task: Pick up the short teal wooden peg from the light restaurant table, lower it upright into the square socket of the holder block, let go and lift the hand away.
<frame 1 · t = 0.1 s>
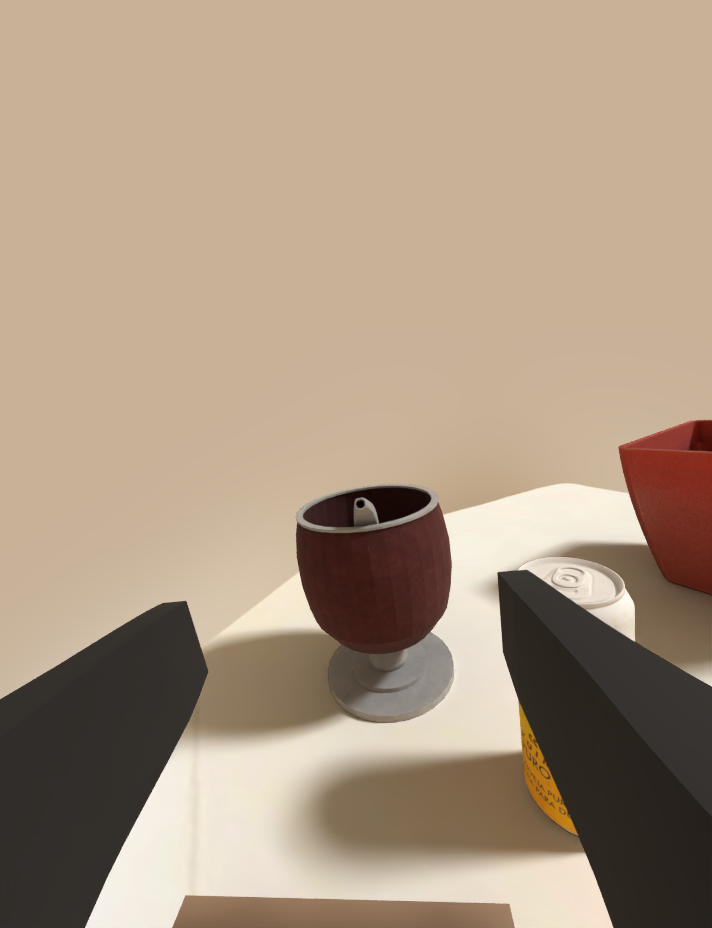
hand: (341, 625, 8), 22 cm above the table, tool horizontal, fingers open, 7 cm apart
mate gourd: (391, 676, 36), on the table
beer can: (577, 796, 24), on the table
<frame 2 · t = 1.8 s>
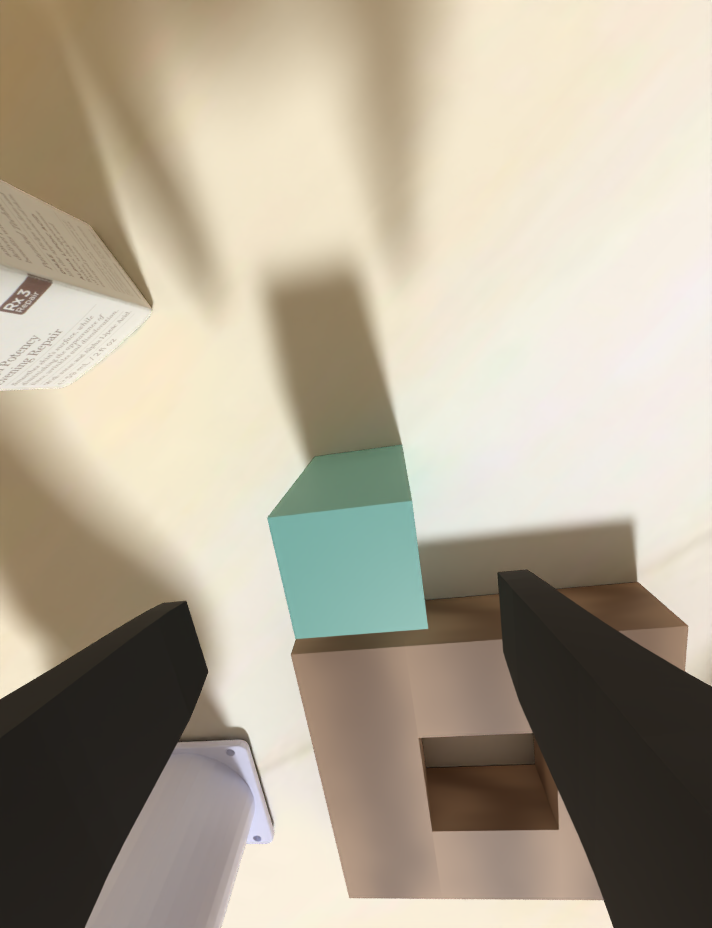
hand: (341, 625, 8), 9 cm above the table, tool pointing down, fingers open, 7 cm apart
skincare box: (82, 307, 16), on the table
holder block: (475, 724, 20), on the table
teal peg: (364, 492, 17), on the table
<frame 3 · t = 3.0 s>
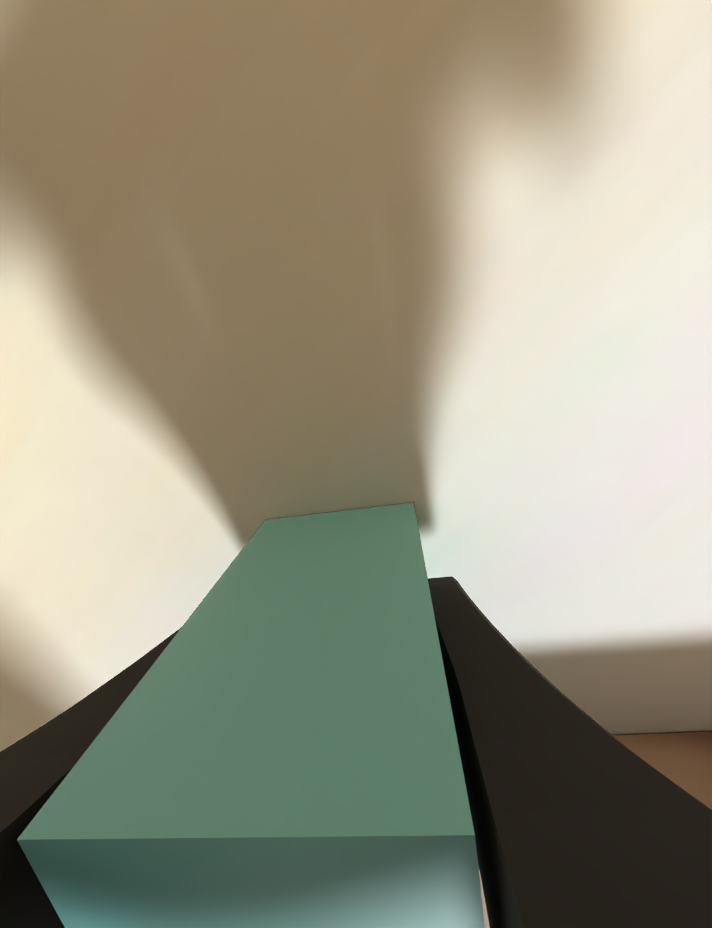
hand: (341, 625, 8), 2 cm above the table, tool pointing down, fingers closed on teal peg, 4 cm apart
holder block: (522, 911, 13), on the table
teal peg: (349, 577, 10), on the table, touching gripper
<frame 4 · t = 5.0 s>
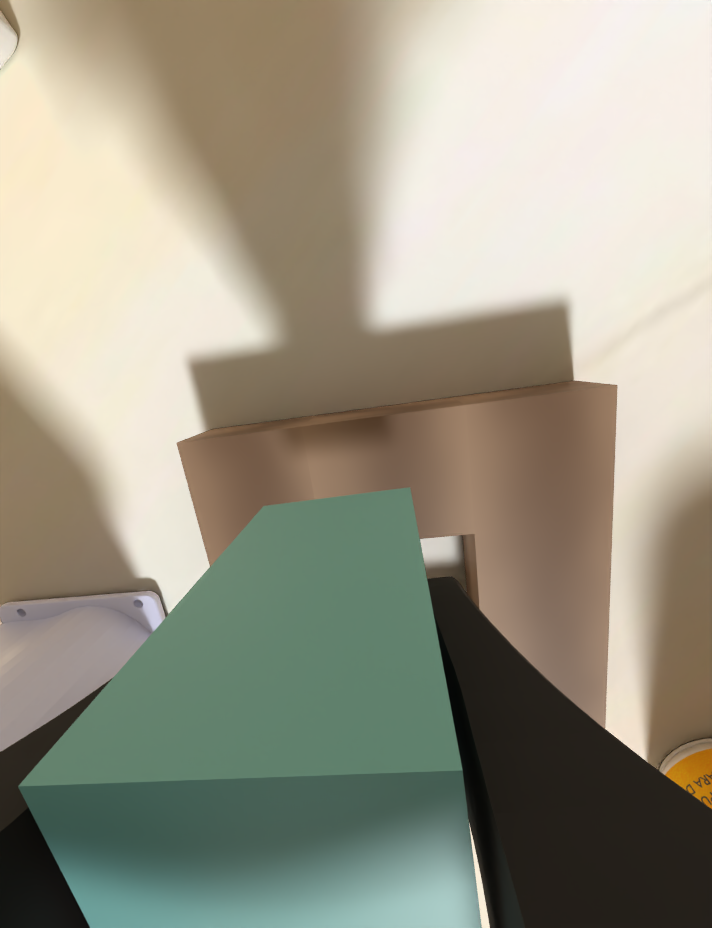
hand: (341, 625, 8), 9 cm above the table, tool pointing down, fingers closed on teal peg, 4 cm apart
beer can: (704, 769, 20), on the table
holder block: (402, 567, 18), on the table
teal peg: (347, 563, 10), point 7 cm above the table, touching gripper
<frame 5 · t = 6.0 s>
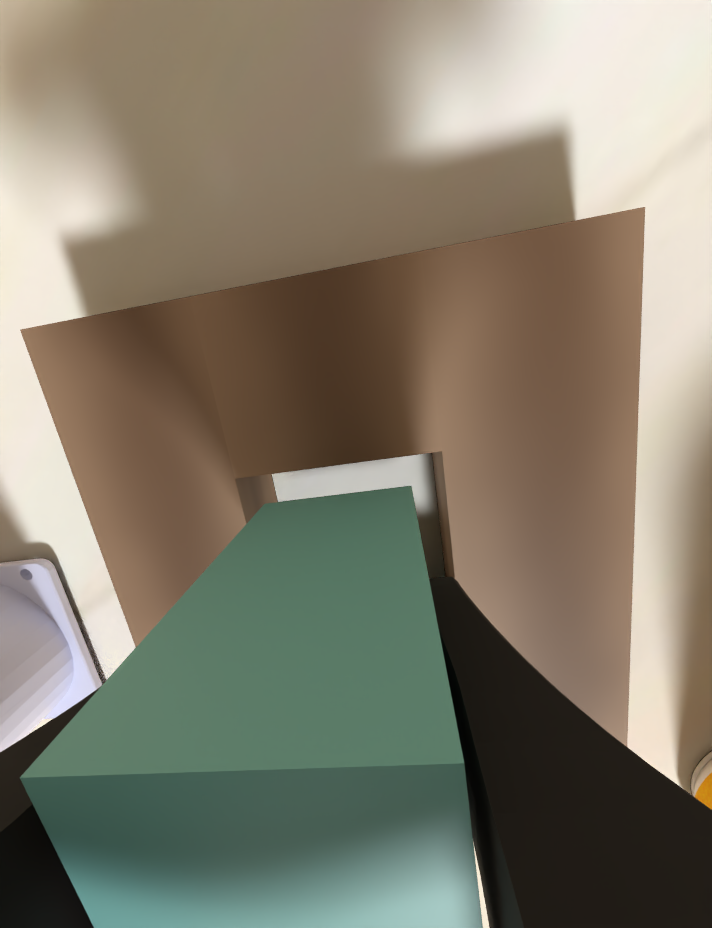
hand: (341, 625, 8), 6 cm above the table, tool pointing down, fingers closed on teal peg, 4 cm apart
holder block: (358, 519, 14), on the table
teal peg: (348, 561, 10), point 4 cm above the table, touching gripper
when the fingers open (4 cm above the table, at t = 6.8 s): teal peg drops 2 cm, resting in holder block.
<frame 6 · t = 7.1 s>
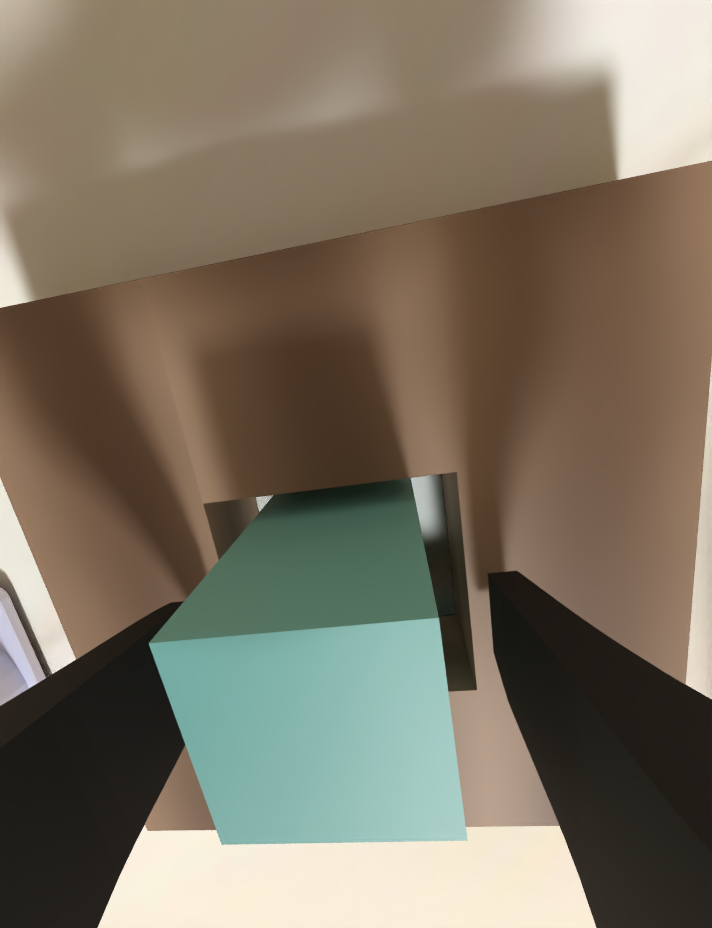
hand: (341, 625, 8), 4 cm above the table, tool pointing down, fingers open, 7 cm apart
holder block: (355, 544, 12), on the table
teal peg: (355, 533, 12), resting in holder block
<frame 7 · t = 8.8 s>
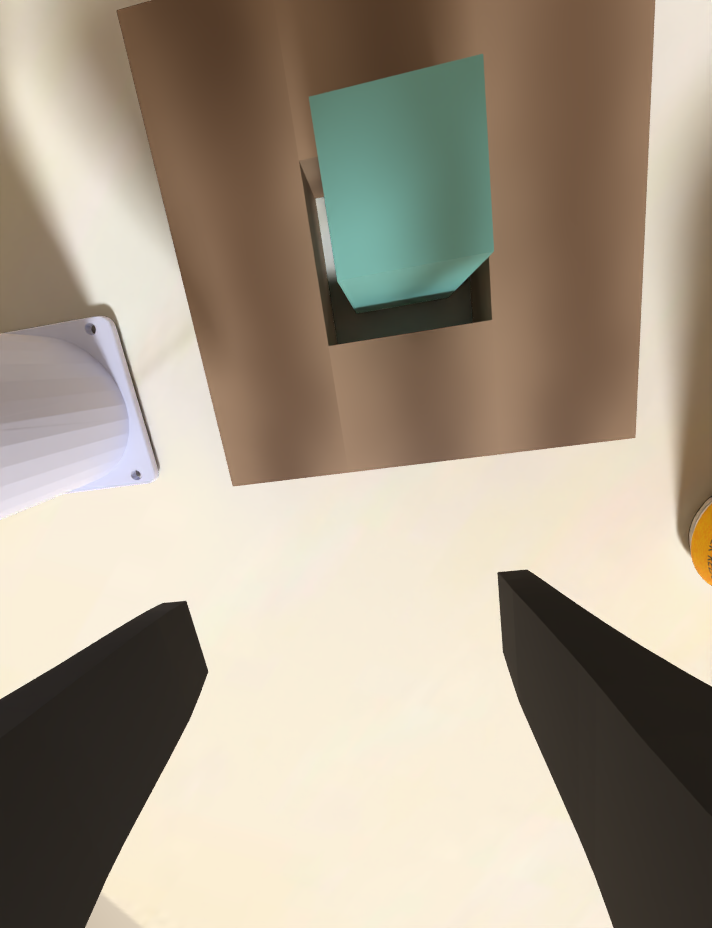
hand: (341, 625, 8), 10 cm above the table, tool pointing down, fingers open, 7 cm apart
holder block: (396, 264, 16), on the table
teal peg: (395, 255, 16), resting in holder block
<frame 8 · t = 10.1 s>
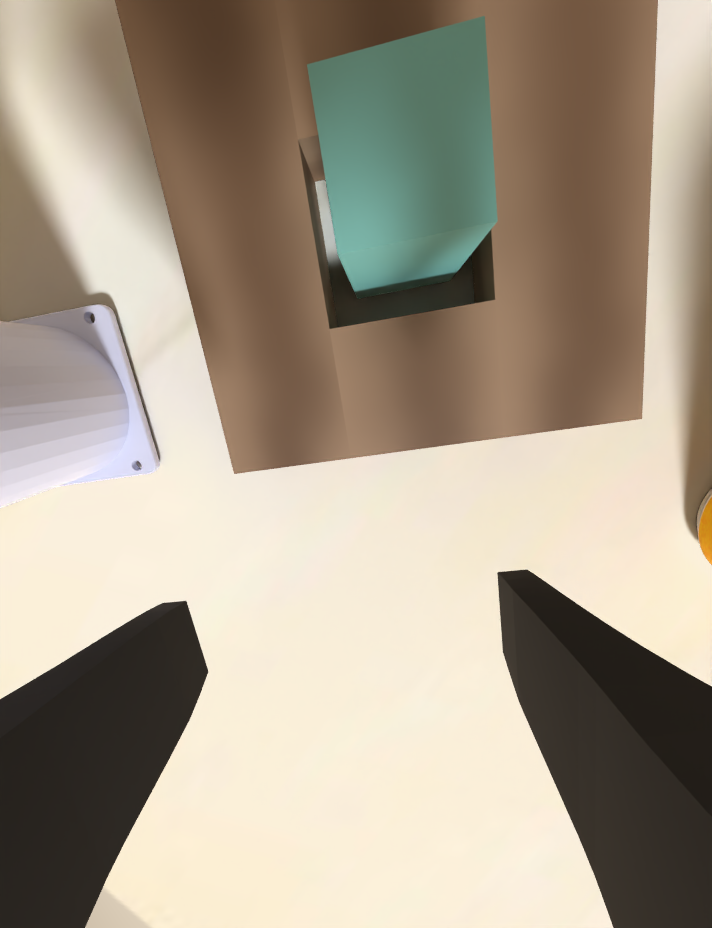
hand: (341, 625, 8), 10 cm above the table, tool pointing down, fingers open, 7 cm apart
holder block: (397, 247, 16), on the table
teal peg: (396, 238, 16), resting in holder block
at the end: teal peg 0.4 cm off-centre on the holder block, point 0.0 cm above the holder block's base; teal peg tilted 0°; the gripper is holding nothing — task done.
